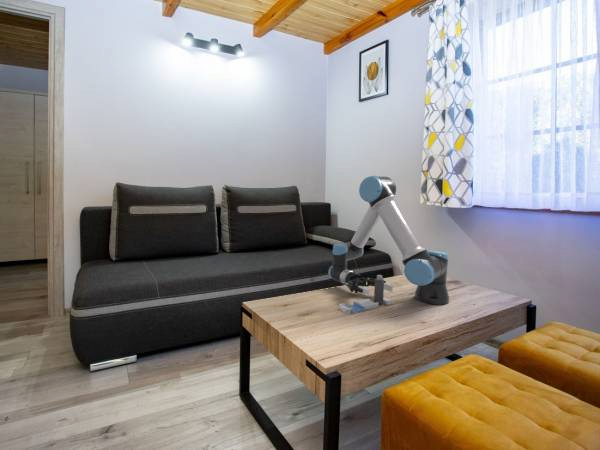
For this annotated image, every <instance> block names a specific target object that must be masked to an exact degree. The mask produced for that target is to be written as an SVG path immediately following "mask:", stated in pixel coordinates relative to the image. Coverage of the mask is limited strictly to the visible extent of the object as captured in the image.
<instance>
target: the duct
mask: <svg viewBox="0 0 600 450" xmlns="http://www.w3.org/2000/svg"><path fill="white" fill-rule="evenodd" d="M384 304H385V305H386V306H389V305H393V299H388V298H386V297H385V296H384V295H383V305H384ZM375 308H379V306H378V302H376V303H375V302H374V300H371V298H366V299H365V298H364V299H359V300H355V301H353V302H352V305H347V304H345V303H339V304H338V309H339V310H340V311H341V312H343V313H345V314H354V313H357V312H360V311H363V312H364V311H366V310H367V311H368V310H371V309H375Z"/></svg>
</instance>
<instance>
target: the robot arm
mask: <svg viewBox="0 0 600 450" xmlns="http://www.w3.org/2000/svg"><path fill="white" fill-rule="evenodd" d="M396 193H397V186H396V182H395V181H394V180H393V179H392V178H391V177H388V176H377V175H372V176H371V175H370V176H367V177H365V178H364V179H362V181H361V183H360V185H359V187H358V194H359V197H360V198H361V199H362V200H363V201H365V202H367V203H368V204H369V206H368V209H367V210H366V212H365V214H364V215H363V218H362V220H361V221H360V223H359V225H358V226H357V229H356V231H355V232H354V235H353V237H352V238H351V241H350V242H349V243H348V244H346V243H334V244H333V246H332V265H331V266H330V267H329V269H328V272H327V274H328V276H329V278H330V279H331V280H333V281H335V282H339V283H341V284H342V285H345V287H347V288H348V290H349V291H350V292H352V293H354V294H358V293H360V294H362V295H365V296H366V297H369V296H370V289H368V288H369V286H370V287H375V279H376V278H371V277H366V278H365V277H362V276H361V274H359V273H357V272H356V271H353V270H351V269H348V261H352V260H355V259H358V258H360V257H362V256H363V254H364V247H365V246H366V244H367V242H368V241H369V238H370V237H371V236H372V233H373V231H374V230H375V228H376V227H377V224H379V223H378V222H379V221H380V219H381V220H382V221H383V224H384V225H385V227H386V229H387V231H388V233H389V235H390V236H391V238H392V240H393V241H394V243H395V244H396V246H397V248H398V250H399V253H400V254H401V255H402V259H401V262H402V265H404V270H403V272H404V276H405V278H406V279H407V281H408V282H410V283H411V284H413V285H415V286H417V287H416V289H415V292H414V299H415V300H417V301H419V302H421V303H424V304H430V305H439V306H440V305H447V304H448V303H449V302H450V296H449V292H448V288H447V280H448V279H447V276H448V265H449V255H448V253H447V252H443V251H437V250H430V249H429V250H428V249H427V248H424V247H421V245H420V243H419V242H418V240H417V239H416V237H415V235H414V233H413V232H412V229H410V227H409V225H408V223H407V222H406V220H405V218H404V216H403V215H402V212H401V211H400V210H399V208H398V206H397V205H396V202H395V197H396ZM366 287H368V288H366ZM393 287H394V286H393V285H391V284H389V283H387V281H386V280H384V290H386V291H387V292H390V293H392V292H393Z"/></svg>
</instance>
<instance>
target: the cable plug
mask: <svg viewBox="0 0 600 450" xmlns="http://www.w3.org/2000/svg"><path fill="white" fill-rule="evenodd" d="M374 279H375V286H374V289H373V290H374V295H373V302H375V303H376V302H378V307H379V306H383V305H384V303H383V296H384V293H385V292H384V290H385V289H384V281H385V279H383V274H382V275H381V274H377V275H376V278H374Z"/></svg>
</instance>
